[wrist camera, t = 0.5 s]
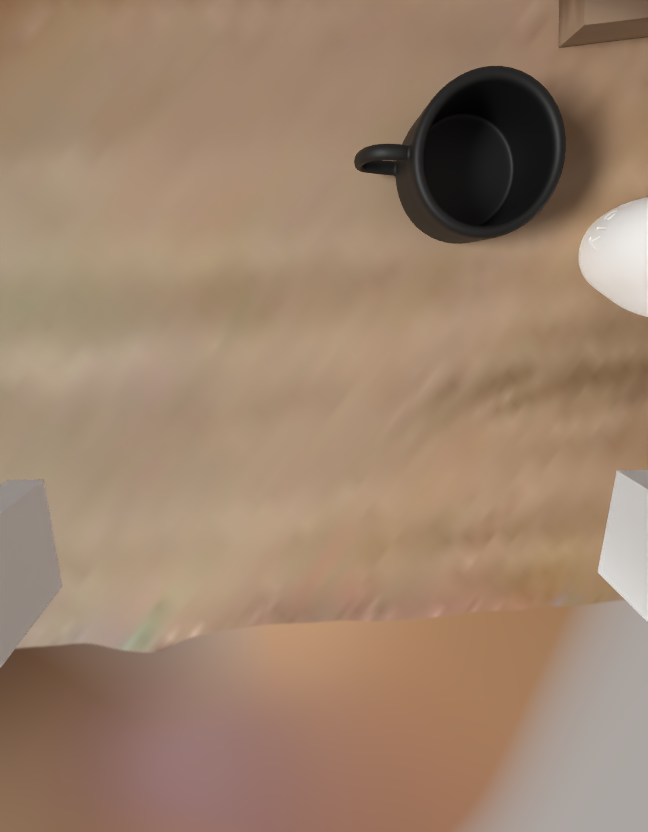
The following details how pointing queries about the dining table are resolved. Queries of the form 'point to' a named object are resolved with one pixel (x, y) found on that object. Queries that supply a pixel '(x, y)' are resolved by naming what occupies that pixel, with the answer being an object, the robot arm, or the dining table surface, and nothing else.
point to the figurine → (619, 256)
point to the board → (601, 21)
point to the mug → (476, 156)
